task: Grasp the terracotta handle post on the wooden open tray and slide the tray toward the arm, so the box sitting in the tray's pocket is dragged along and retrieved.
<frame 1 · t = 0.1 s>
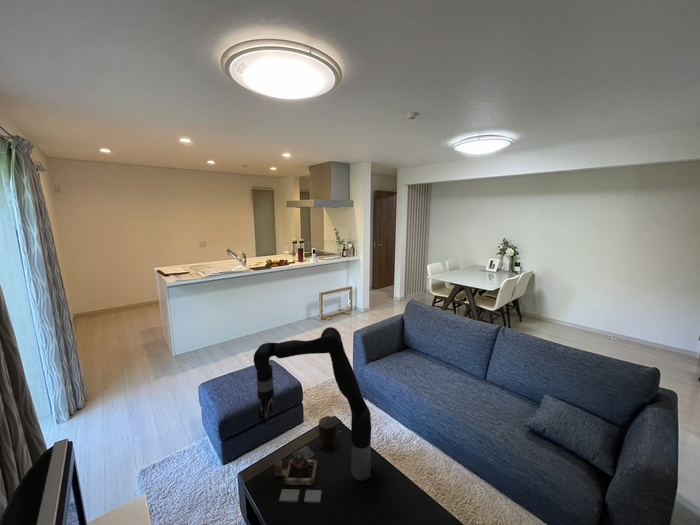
hand: (267, 417, 136), 29 cm above the table, fingers open, 8 cm apart
wooden open tray: (295, 468, 138), point 3 cm above the table, slide at 0.0 cm
pillar candle: (327, 444, 157), on the table
pair of grey tiles: (300, 496, 128), on the table
box: (299, 474, 139), resting in wooden open tray
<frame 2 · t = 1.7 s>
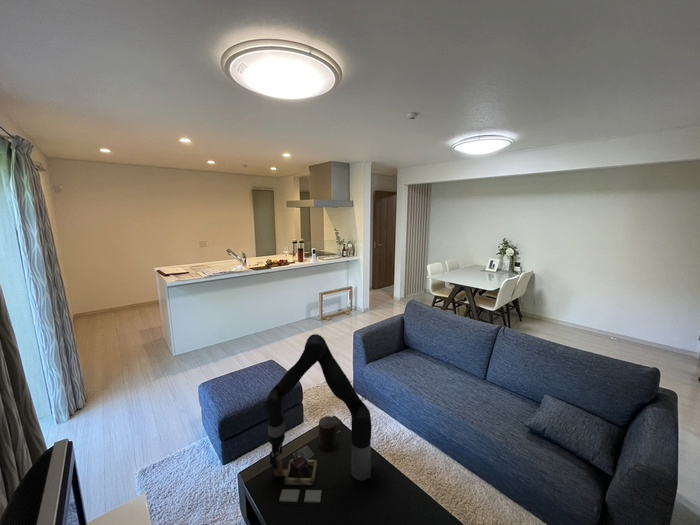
hand: (277, 460, 138), 7 cm above the table, fingers open, 8 cm apart
nothing on the table moved.
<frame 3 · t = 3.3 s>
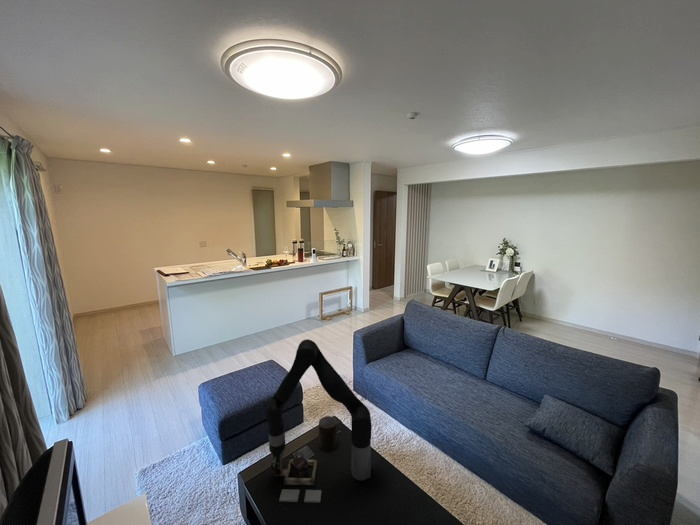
hand: (278, 470, 139), 2 cm above the table, fingers closed on wooden open tray, 3 cm apart
wooden open tray: (295, 468, 138), point 3 cm above the table, slide at 0.0 cm, touching gripper
everything else where it was.
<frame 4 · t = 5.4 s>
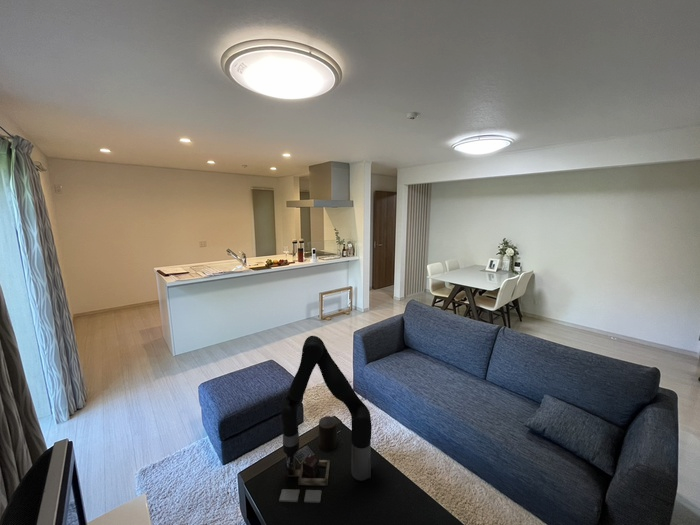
hand: (291, 471, 139), 2 cm above the table, fingers closed on wooden open tray, 3 cm apart
wooden open tray: (308, 468, 138), point 3 cm above the table, slide at 6.4 cm, touching box, gripper
box: (311, 473, 139), resting in wooden open tray
everything else where it was.
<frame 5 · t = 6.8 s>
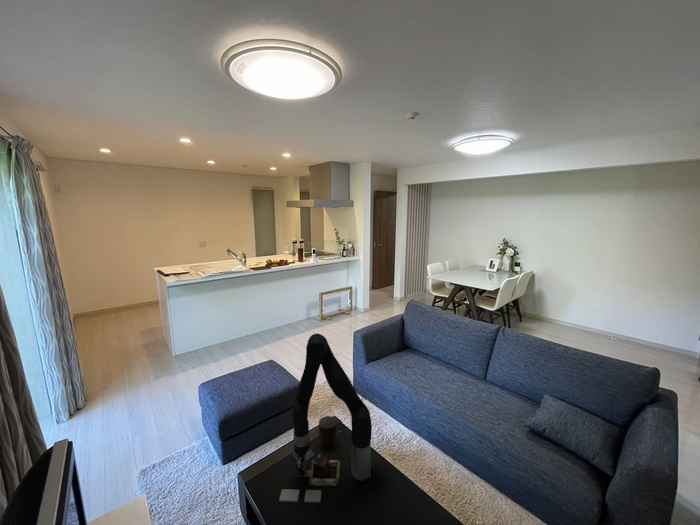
hand: (302, 471, 138), 2 cm above the table, fingers closed on wooden open tray, 3 cm apart
wooden open tray: (319, 469, 138), point 3 cm above the table, slide at 11.6 cm, touching box, gripper
box: (321, 473, 139), resting in wooden open tray
everything else where it was.
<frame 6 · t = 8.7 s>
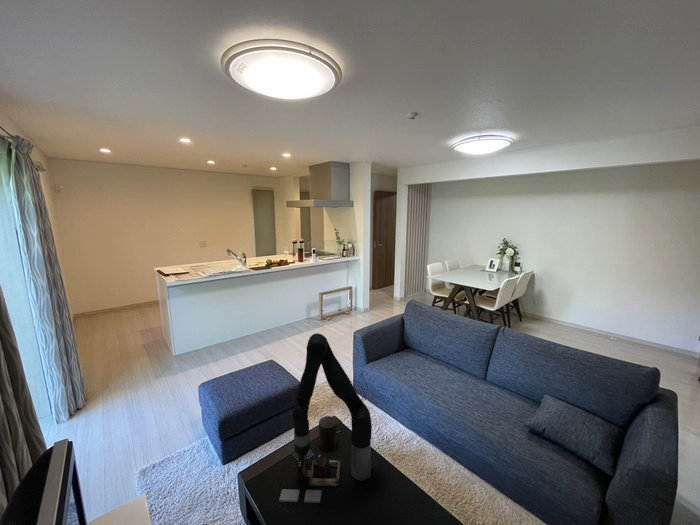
hand: (303, 469, 138), 3 cm above the table, fingers open, 8 cm apart
wooden open tray: (319, 469, 138), point 3 cm above the table, slide at 11.6 cm
box: (321, 474, 139), resting in wooden open tray
everything else where it was.
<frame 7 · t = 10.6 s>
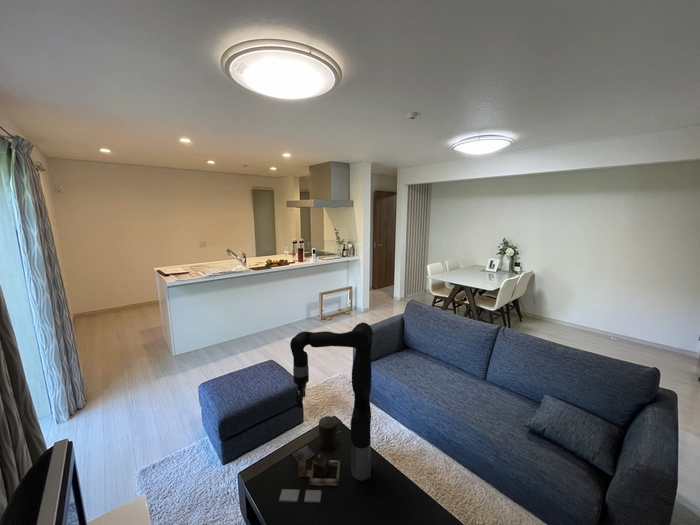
hand: (301, 402, 144), 31 cm above the table, fingers open, 8 cm apart
nothing on the table moved.
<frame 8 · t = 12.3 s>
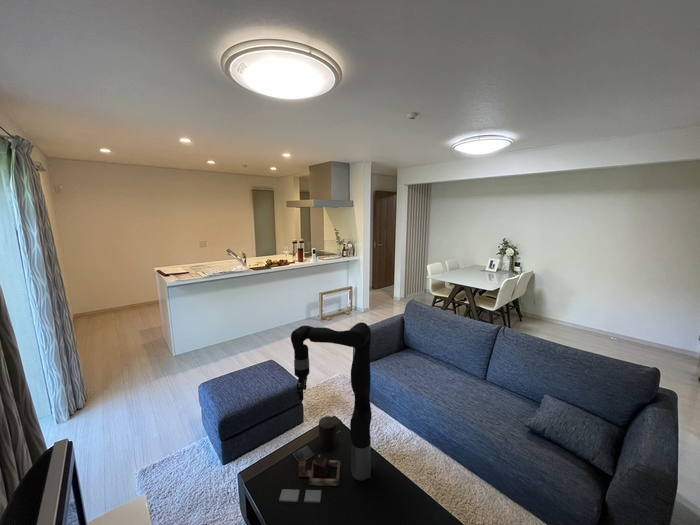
hand: (302, 394, 147), 33 cm above the table, fingers open, 8 cm apart
nothing on the table moved.
at the end: wooden open tray slide at 11.6 cm; box inside the target area (1.1 cm from its centre), resting in wooden open tray; box tilted 0° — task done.
